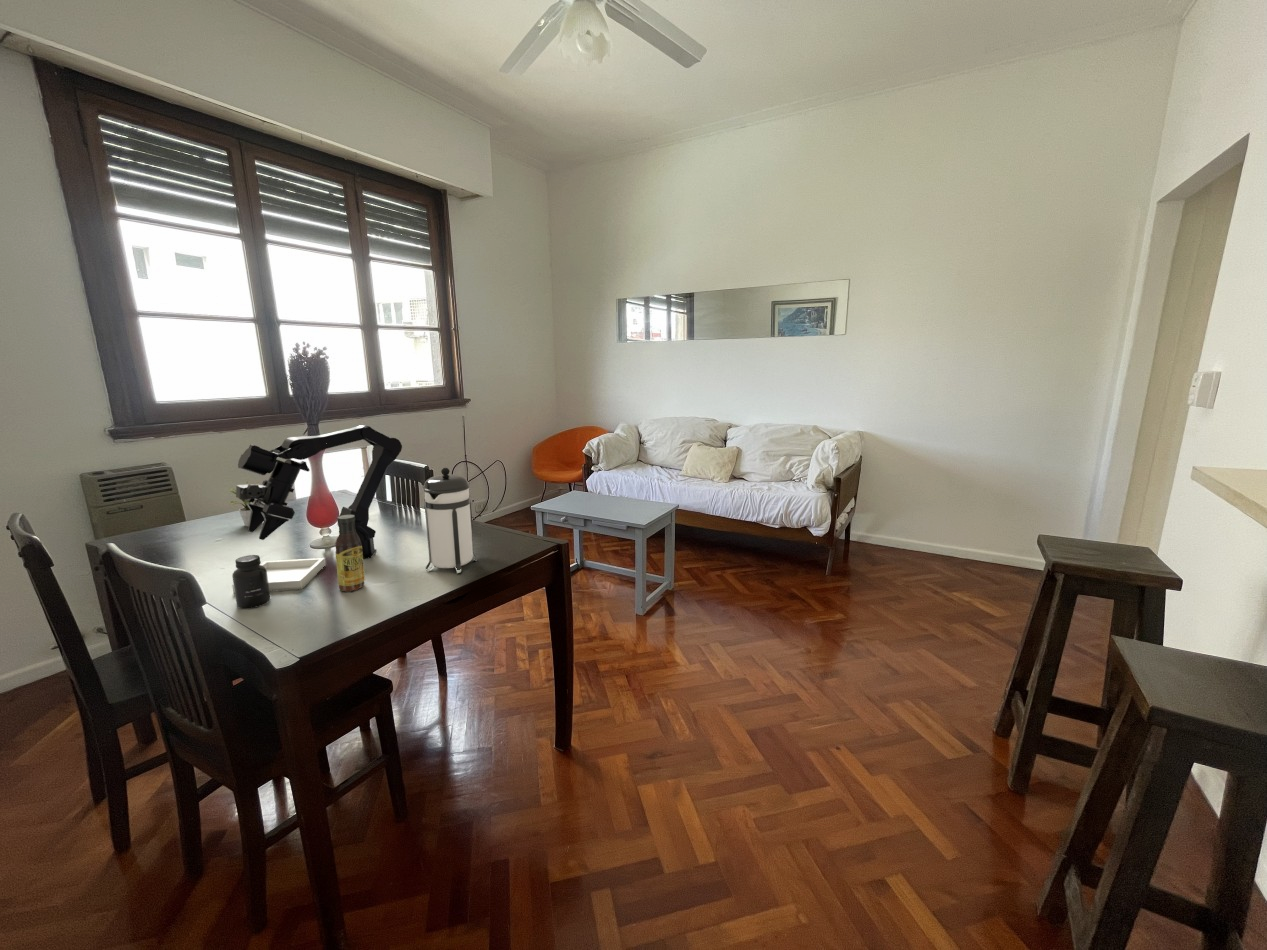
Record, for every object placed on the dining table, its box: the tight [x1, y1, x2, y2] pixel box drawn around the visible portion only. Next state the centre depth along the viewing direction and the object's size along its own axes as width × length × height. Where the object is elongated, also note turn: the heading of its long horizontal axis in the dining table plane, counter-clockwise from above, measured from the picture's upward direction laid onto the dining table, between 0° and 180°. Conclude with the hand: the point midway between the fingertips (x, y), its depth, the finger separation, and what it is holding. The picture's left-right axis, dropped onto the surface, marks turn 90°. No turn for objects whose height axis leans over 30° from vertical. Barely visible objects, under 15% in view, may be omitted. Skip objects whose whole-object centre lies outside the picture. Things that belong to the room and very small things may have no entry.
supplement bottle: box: [231, 554, 271, 610], centre depth 124 cm, size 7×7×12 cm
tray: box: [231, 557, 327, 595], centre depth 139 cm, size 16×16×2 cm
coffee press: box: [421, 467, 477, 570], centre depth 147 cm, size 17×16×30 cm
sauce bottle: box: [334, 515, 366, 592], centre depth 132 cm, size 6×6×20 cm
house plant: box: [227, 480, 263, 527], centre depth 182 cm, size 14×14×16 cm
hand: (255, 535), depth 134 cm, fingers open, 9 cm apart
